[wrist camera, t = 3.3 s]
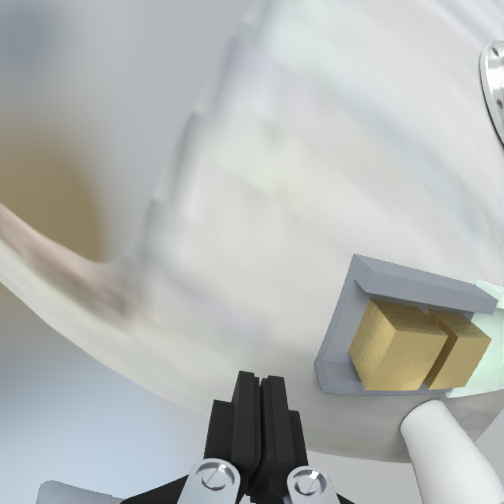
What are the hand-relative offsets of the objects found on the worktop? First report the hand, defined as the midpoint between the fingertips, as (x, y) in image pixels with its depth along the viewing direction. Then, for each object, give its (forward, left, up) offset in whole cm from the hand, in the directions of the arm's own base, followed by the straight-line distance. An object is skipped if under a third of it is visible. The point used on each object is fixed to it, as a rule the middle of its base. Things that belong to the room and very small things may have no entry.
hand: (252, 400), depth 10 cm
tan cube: (-1, +14, -7) cm, 15 cm away
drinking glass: (+10, +20, -8) cm, 23 cm away
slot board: (-1, +11, -8) cm, 14 cm away
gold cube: (-1, +9, -7) cm, 11 cm away
